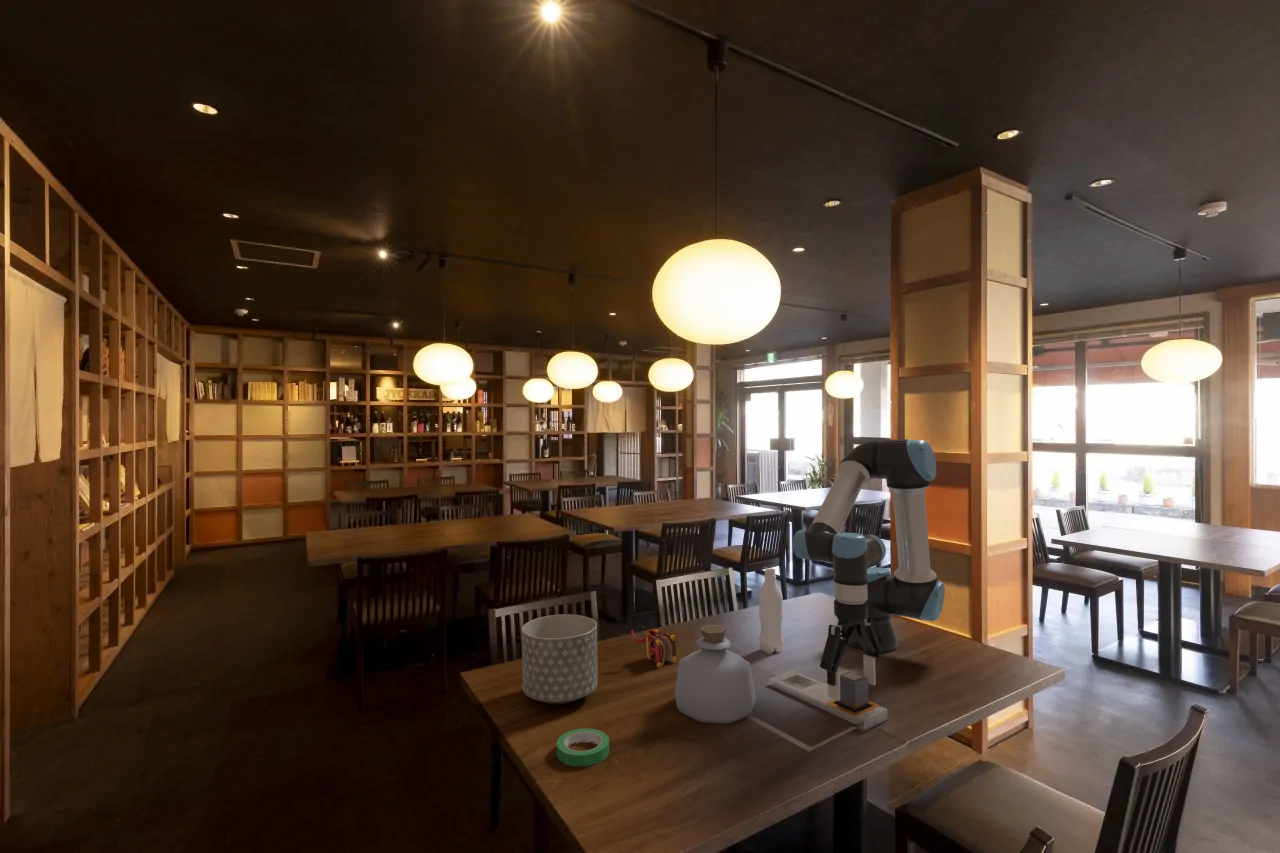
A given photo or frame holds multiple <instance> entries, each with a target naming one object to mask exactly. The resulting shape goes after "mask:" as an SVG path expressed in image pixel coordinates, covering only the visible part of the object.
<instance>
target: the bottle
mask: <svg viewBox="0 0 1280 853" xmlns="http://www.w3.org/2000/svg"><path fill="white" fill-rule="evenodd" d="M700 631H701V634H702V636H701V637H700V638H698V639H697V640H696V645H697V646H698V647H699V648H701V649H699V650H695V651H693V652H692V653H690V654H688V655H685V656H684V657H682V658H680V659H679V660H678V661H679V662H678V667H677V676H676V681H675V682H676V683H675V689H674V698H675V702H676V703H675V704H676V707H677V709H678V711H679V712H680V713H681V714H682V715H685V716H687V717H689V718H690V719H694V720H695V721H697V722H699V723H708V724H723V725H725V724H726V725H729V724H732V723H734V722H737V721H739V720H740V721H741V720H742V719H745V718H749V716H750V715H751V714H752V713H753V710H754V707H755V703H756V700H757V698H756V697H757V696H756V692H755V686H754V680H753V673H752V667H751V662H749V661H747V660H746V659H745V658H743V657H742V656H740V655H738V654H737V653H735V652H733V651H729V650H728V649H727V648H730V647H731V645H732V642H731V641H730V639H729V638H727V637H725V636H726V631H727V627H725V626H723V625H720V624H705V625H703V626H701V629H700Z"/></svg>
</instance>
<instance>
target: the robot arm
mask: <svg viewBox="0 0 1280 853" xmlns="http://www.w3.org/2000/svg"><path fill="white" fill-rule="evenodd" d="M836 472H837V475H836V477H835V478H834V482H833V483H832V485H831V487H830V488H829V490H828V493H827V494H826V496H825V498H824V501H823V502H822V504H821V506H820V508H819V510H818V511H817V513H816V515H815V517H814V519H813V520H812V523H811V524H810V526H809V528H808V530H807V529H800V530H798V531H796V532H795V534H794V536H793V539H792V550H793V553H794V555H795V556H796V557H797V558H799V559H803V560H807V561H811V562H812V561H815V562H823V563H832V565H833V566H832V567H833V598H834V601H833V614H834V615H835V617H836V619H837V625H833V624H829V625H828V630H827V631H828V632H827V638H826V641H825V646H824V648H823V653H822V657H821V660H820V664H819V667H820V669H823V670H826V679H827V680H826V684H827V685H828V697H830V698H832V699H835V700H837V701H840V675H841V672H840V670H838V669H839V667H840V664H841V662H842V661H843V657H844V654H845V653H846V649H847V648H848V647H849V646H851V647H853V648H855V649H859V650H862V651H864V652H865V653H864V654H863V655H862V657H863V659H862V661H863V677H866V678H868V685H872V686H876V668H877V667H876V658H880V657H881V653H882V652H883V653H884V652H891V651H893V650H896V649H897V648H898V637H897V635H896V631H895V629H894V626H893V624H892V623H893V622H892V619H891V618H892V617H891V615H894V616H899V617H904V618H910V619H915V620H919V621H927V622H928V621H929V622H934V621H937V620H938V619H939V617H940V616H941V613H942V611H943V608H944V602H945V594H946V586H945V584H944V582H942V581H941V580H939V581H938V579H937V578H938V577H937V573H936V572H935V571H934V569H931V559H930V546H929V545H930V542H929V533H928V531H929V530H928V517H927V515H928V514H927V504H926V503H927V502H926V491H927V490H928V488H929V487H931V481H934V480H935V479H936V476H937V461H936V456H935V453H934V451H933V448H932V446H931V445H930V443H928V442H927V441H926V440H922V439H913V438H908V439H904V438H903V439H899V438H898V439H871V440H868V441H864V442H862V443H861V444H858V445H856V446H855V447H853V449H851V450H850V451H848V453H846V455H845V456H843V458H842V459H841V461H840V463H839V464H838V466H837V468H836ZM872 479H878V480H879V479H880V480H881V479H884V480H886V487H887V488H888V489H889V490H891V491H892V499H893V510H894V523H895V525H894V526H895V536H896V539H895V540H896V548H897V559H898V560H897V561H898V562H897V564H898V568H896V569H895V570H894V572H893V575H891V571H890V570H889V569H888V568H885V567H875V566H878V565H879V564H880V563H881V562H882V561H883V560H884V559H885V557H886V554H887V548H886V545H885V543H884V541H883V540H882V539H881V538H880V537H878V536H877V535H874V534H861V533H858V532H856V533H855V532H841V531H842V529H843V527H844V525H845V524H846V521H847V519H848V517H849V515H850V513H851V511H852V509H853V507H854V505H855V502H856V500H857V498H858V496H859V494H860V492H861V491H862V488H863V487H865V486H867V484H869V482H870V480H872Z"/></svg>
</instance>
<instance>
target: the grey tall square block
mask: <svg viewBox="0 0 1280 853" xmlns="http://www.w3.org/2000/svg"><path fill="white" fill-rule="evenodd" d="M869 701H870V700H869V683H868V678H866V677H864V675H860V674H857V673H855V672H852V671H847V672H844V673H843V674H840V701H837V705H839V706H841V707H843V708H845V709H848V710H850V711H852V712H855V713H858V712H860V711H862V710H865V709H867V708H869Z"/></svg>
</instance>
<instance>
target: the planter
mask: <svg viewBox="0 0 1280 853" xmlns="http://www.w3.org/2000/svg"><path fill="white" fill-rule="evenodd" d="M597 626H598V623H597V621H595V620H594V619H593V618H591V617H588V616H583V615H580V614H553V615H546V616H542V617H538V618H535V619H532V620H531V619H530V621H527V622H526V623H525V624H523V626H522V628H521V650H522V651H521V652H522V654H521V655H522V656H521V657H522V659H521V662H522V663H521V665H522V667H521V668H522V669H521V670H522V692H523V694H524V695H525V696H527V697H528V698H530V699H532V700H534V701H539V702H543V703H546V704H548V705H549V704H552V705H564V704H569V703H572V702H575V701H578V700H580V699H581V698H585V697H586V696H588V695H590V694H592V693H593V692H594V691H595V690H596V689H597V687H598V684H599V682H598V680H599V677H598V676H599V675H598V672H599V671H598V627H597Z"/></svg>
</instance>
